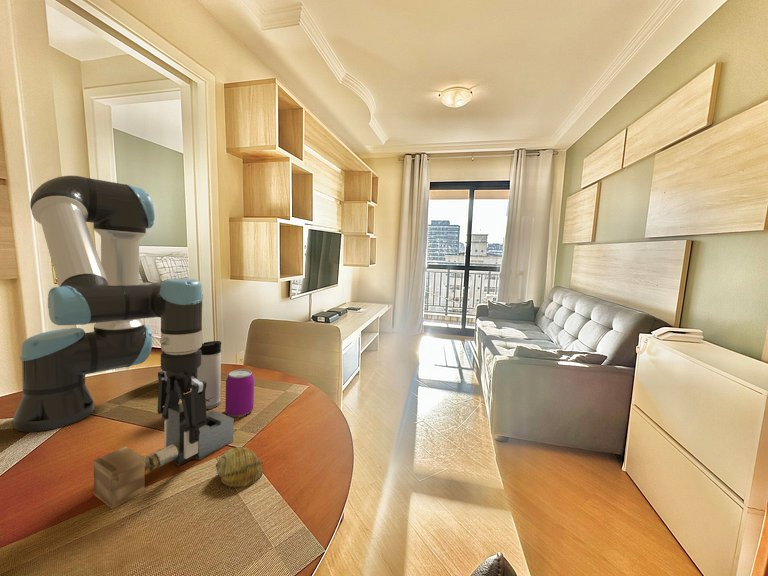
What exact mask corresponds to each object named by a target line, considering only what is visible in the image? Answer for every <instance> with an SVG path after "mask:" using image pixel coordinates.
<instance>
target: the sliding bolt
mask: <svg viewBox="0 0 768 576" xmlns="http://www.w3.org/2000/svg"><path fill="white" fill-rule="evenodd" d="M216 424H218V423H216ZM216 424H213V425H211V426H214V425H216ZM211 426H210V427H211ZM186 428H187V426H186V420H185V415H184V410H183V405H182V402H180V403H179V404H178V405H175V406H173V407H170V408H168V446H167V447H165V448H164V447H163V448H161V449H159V450H156V451H155V452H153V453H150V454H148V455H146V456H144V467H145V468H146V469H147V471H149V472H153V471H155V470H157V469H158V468H161V467H163V466H165V465H166V464H168V463H170V462H172V463H173V464H175V465H177V466H181V465H183V464H186V463H187V462H188V461H190V460H192V459H195V458H194V455H193V456H191V457H189V458H187V459H185V458H184V430H183V429H186Z"/></svg>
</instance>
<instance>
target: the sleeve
mask: <svg viewBox="0 0 768 576" xmlns="http://www.w3.org/2000/svg"><path fill="white" fill-rule="evenodd" d="M206 420H207V424H206V425H205V426H202V427H200V428H199V440H198V453H197V454H195V455H194V458H193V459H195V460H197V461H200V460H202V459H204V458H206V457H207V456H209V455H211V454H213V453H214V452H216V451H219V450H220V449H222V448H223V447H226V446H227V445H229V444H231V443H233V442H234V426H235V425H234V423H235V421H234V420H235V417H232V416H229V415H228V414H224V413H222V412H219V411H216V410H211V411H210V410H209V411H208V412H206ZM216 423H218V424H216ZM213 424H216V425H214V426H211V425H213ZM210 426H211V427H210ZM230 442H231V443H230Z"/></svg>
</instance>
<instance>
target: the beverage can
mask: <svg viewBox="0 0 768 576" xmlns="http://www.w3.org/2000/svg"><path fill="white" fill-rule="evenodd" d="M254 397H255V378H254V374H253V372H252V370H250V369H243V368H241V369H236V370H231V371H230V372H229V373H228V375H227V377H226V380H225V414H226V415H227V416H229V415H230V416H229V417H232V416H234V417H233V418H239V417H238V416H241V417H243V415H245V416H246V414H247V415H248V413H249V412H250V413H251V412H252V411H253V409H254V403H255V399H254ZM250 413H249V414H250Z"/></svg>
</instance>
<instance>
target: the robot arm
mask: <svg viewBox="0 0 768 576" xmlns="http://www.w3.org/2000/svg"><path fill="white" fill-rule="evenodd" d="M29 206H30V210H31V214H32V217H33V219H35V221H36V222H37V223H38V224H40V225H41V228H42V231H43V236H44V238H45V241H46V246H47V249H48V253H49V256H50V259H51V263H52V267H53V271H54V274H55V278H56V281H57V285H58V286H54V287H51V288H50V289H49V290H48V294H47V309H48V316H49V319H50V321H51V323H53V324H54V325H56V326H76V325H77V326H78V325H79V326H80V325H82V326H84V325H87V324H88V325H89V324H93V331H91V332H86V331H85V330H84V328H80V327H72V328H62V329H61V328H60V329H59V328H58V329H55V330H54V329H53V330H50V331H46V332H41V333H38V334H35V335H32V336H30V337H28V338H26V339H25V340H24V341H23V342H22V344H21V352H20V353H21V354H20V355H21V356H20V357H19V358H20V361H21V375H22V379H21V380H22V381H21V382H22V395H21V396H22V397H21V399H20V402H19V404H18V406H17V408H16V411H15V413H14V416H13V419H12V422H13V423H12V425H13V426H12V427H13V428H14V430H15V431H17V432H27V433H29V432H32V433H34V432H42V431H43V432H44V431H49V430H54V429H57V428H61V427H65V426H68V425H71V424H74V423H77V422H79V421H82V420H83V419H85V418H88V417H89V416H91V415H92V414H93V413H94V412H95V400H94V398H93V396H92V395H91V393H90V391H89V388H88V386H87V385H86V384H87V383H86V375H90V374H95V373H100V372H101V373H102V372H105V371H106V372H107V371H112V370H116V369H117V370H118V369H121V368H122V369H123V368H130V367H132V366H135V365H136V366H137V365H140V364H143V363H144V362H146V361H147V359H148V358H149V356H150V355H151V352H152V347H153V337H152V335H153V333H152V330H151V328H150V327H148V326H147V325H145V321H144V320H143V319H151V318H159V319H160V339H159V343H160V350H161V351H162V352H161V353H160V370H161V371H159V372H158V373H157V378H158V390H157V391H158V393H157V409H156V410H157V414H158V415H161V417H162V419H163V420H164V421H163V423H164V427H163V428H164V430H163V431H164V432H163V433H164V434H163V435H164V438H163V439H164V440H163V441H164V446H163V448H165V447H167V446H168V408H170V407H173V406H175V405H178V404H180V400H181V403H182V405H183V410H184V415H185V420H186V426H187V428H186V429H183V430H184V458H185V459H187V458H189V457H191V456H193V455H195V454H197V453H198V440H199V428H200V427H202V426H205V425H206V424H207V420H206V413H207V409H206V399H205V390H206V385H207V383H206V381H203V382H200V381H199V380H197V374H196V370H197V368H198V367H199V366H200V365H201V353H202V351H201V350H200V349H199V348H201V346H202V344H203V333H202V332H203V331H202V330H203V329H202V326H203V325H202V322H203V320H202V319H203V299H204V296H203V289H202V288H203V287H202V285H203V284H202V283H201V281H199V280H198V279H188V278H170V279H169V278H168V279H164V280H163V281H162V282H154V283H153V282H151V283H148V284H140V279H139V278H140V239H141V238H143V237H144V236H146V234H147V230H149V229H151V228H153V226H154V221H155V215H156V214H155V208H154V203H153V200H152V198H151V196H150V194H149V193H148V191H146V190H145V189H143V188H141V187H137V186H135V185H134V186H133V185H130V184H123V183H119V182H113V181H107V180H101V179H96V178H90V177H85V176H82V175H81V176H80V175H62V176H57V177H54V178H51V179H48V180H46V181H45V182H44V183H42V184H41V185H39V186H38V187H37V188H36V189H35V191H34V192H33V193H32V196H31V198H30V204H29ZM87 223H91V224H93V230H94V232H96V234H98V235H99V236H100V256H99V254H98V251H97V249H96V246H95V244H94V243H95V242H94V241H93V238H92V235H91V233H90V229H89V227H88V224H87Z"/></svg>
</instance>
